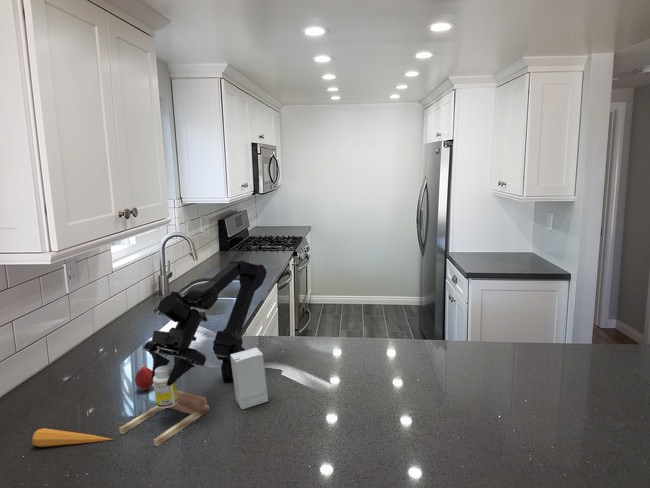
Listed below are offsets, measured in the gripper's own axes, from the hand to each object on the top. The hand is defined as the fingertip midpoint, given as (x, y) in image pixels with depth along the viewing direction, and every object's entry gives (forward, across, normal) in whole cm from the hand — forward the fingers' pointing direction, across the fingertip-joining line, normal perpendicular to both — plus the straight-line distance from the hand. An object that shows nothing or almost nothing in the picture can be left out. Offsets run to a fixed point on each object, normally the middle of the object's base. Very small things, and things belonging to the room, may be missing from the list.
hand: (160, 383), depth 121 cm
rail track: (+8, 0, +8) cm, 11 cm away
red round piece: (+1, -21, +16) cm, 26 cm away
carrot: (+20, -14, -4) cm, 25 cm away
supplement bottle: (+4, 0, +6) cm, 7 cm away
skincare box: (-4, +15, +20) cm, 26 cm away
